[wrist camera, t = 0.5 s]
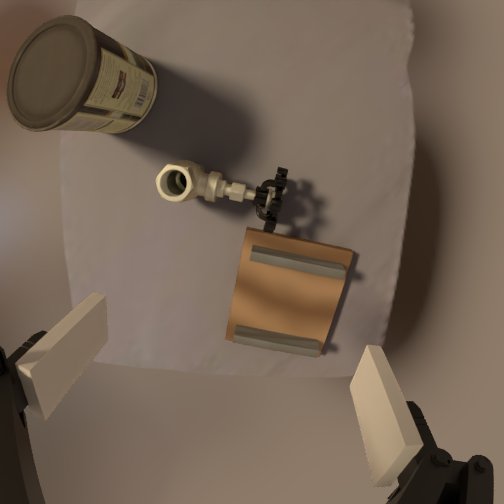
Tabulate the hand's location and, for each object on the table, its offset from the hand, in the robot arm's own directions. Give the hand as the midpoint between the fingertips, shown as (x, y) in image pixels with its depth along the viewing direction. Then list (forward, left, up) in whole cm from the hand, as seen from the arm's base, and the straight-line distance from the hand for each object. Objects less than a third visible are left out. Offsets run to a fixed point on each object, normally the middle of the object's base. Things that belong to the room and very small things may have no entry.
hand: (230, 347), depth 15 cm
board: (+6, +5, -22) cm, 23 cm away
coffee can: (-14, -19, -22) cm, 32 cm away
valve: (-5, -4, -22) cm, 23 cm away
